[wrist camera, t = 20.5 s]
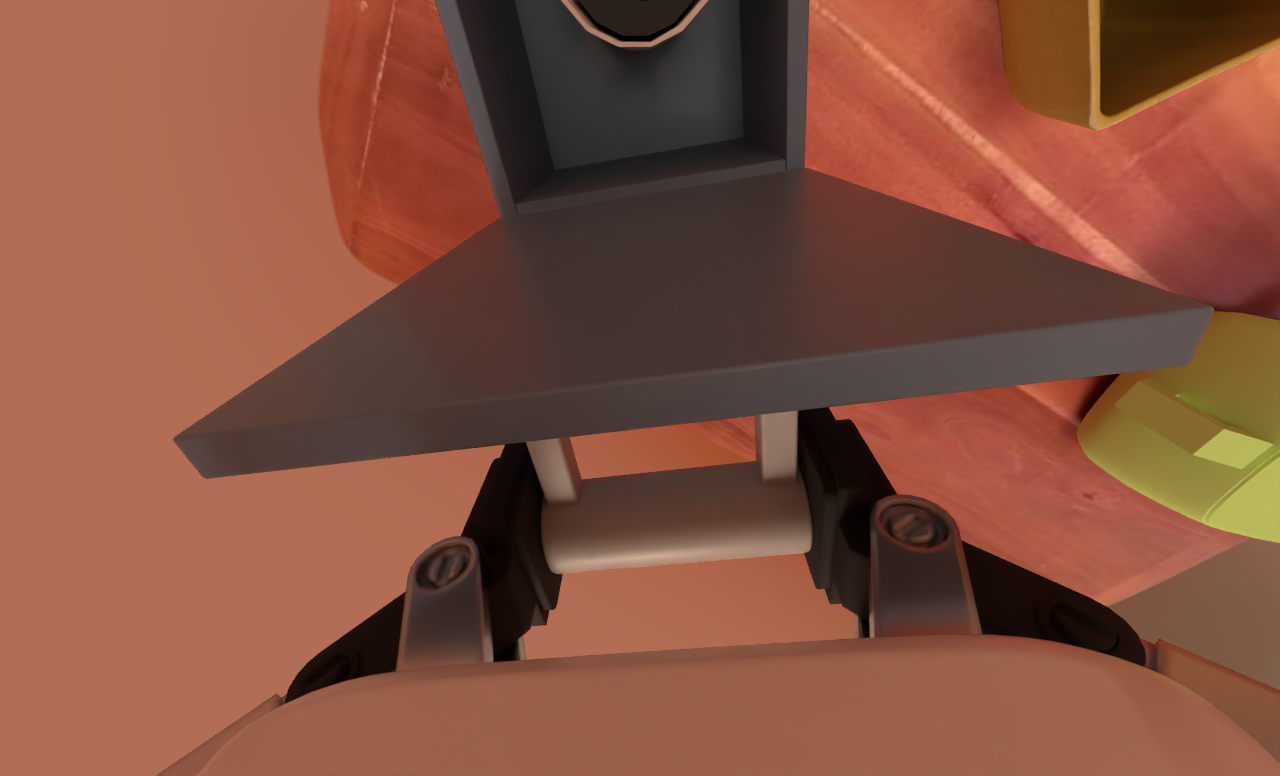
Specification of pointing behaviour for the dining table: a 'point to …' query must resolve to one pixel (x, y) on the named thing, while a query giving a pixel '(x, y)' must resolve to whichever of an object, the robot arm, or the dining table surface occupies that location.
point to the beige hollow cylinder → (635, 20)
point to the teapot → (1201, 429)
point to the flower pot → (1125, 51)
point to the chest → (628, 100)
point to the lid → (689, 351)
